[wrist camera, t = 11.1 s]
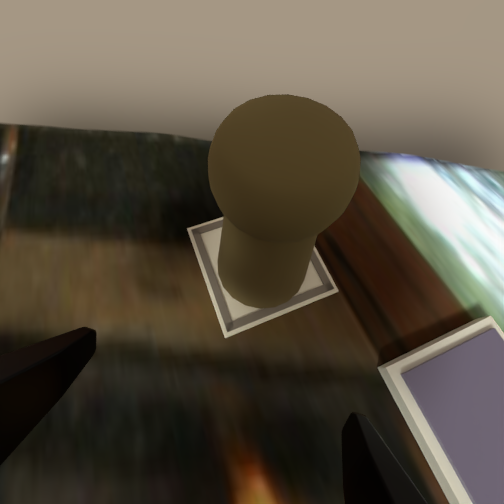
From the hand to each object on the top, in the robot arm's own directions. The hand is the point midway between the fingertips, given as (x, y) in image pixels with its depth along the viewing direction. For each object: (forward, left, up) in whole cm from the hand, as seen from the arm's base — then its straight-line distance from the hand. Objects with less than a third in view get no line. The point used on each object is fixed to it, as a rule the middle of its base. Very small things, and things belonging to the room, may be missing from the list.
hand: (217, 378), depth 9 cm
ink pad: (+13, -7, -7) cm, 16 cm away
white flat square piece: (+5, +6, -7) cm, 10 cm away
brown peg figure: (+4, +5, -7) cm, 10 cm away
